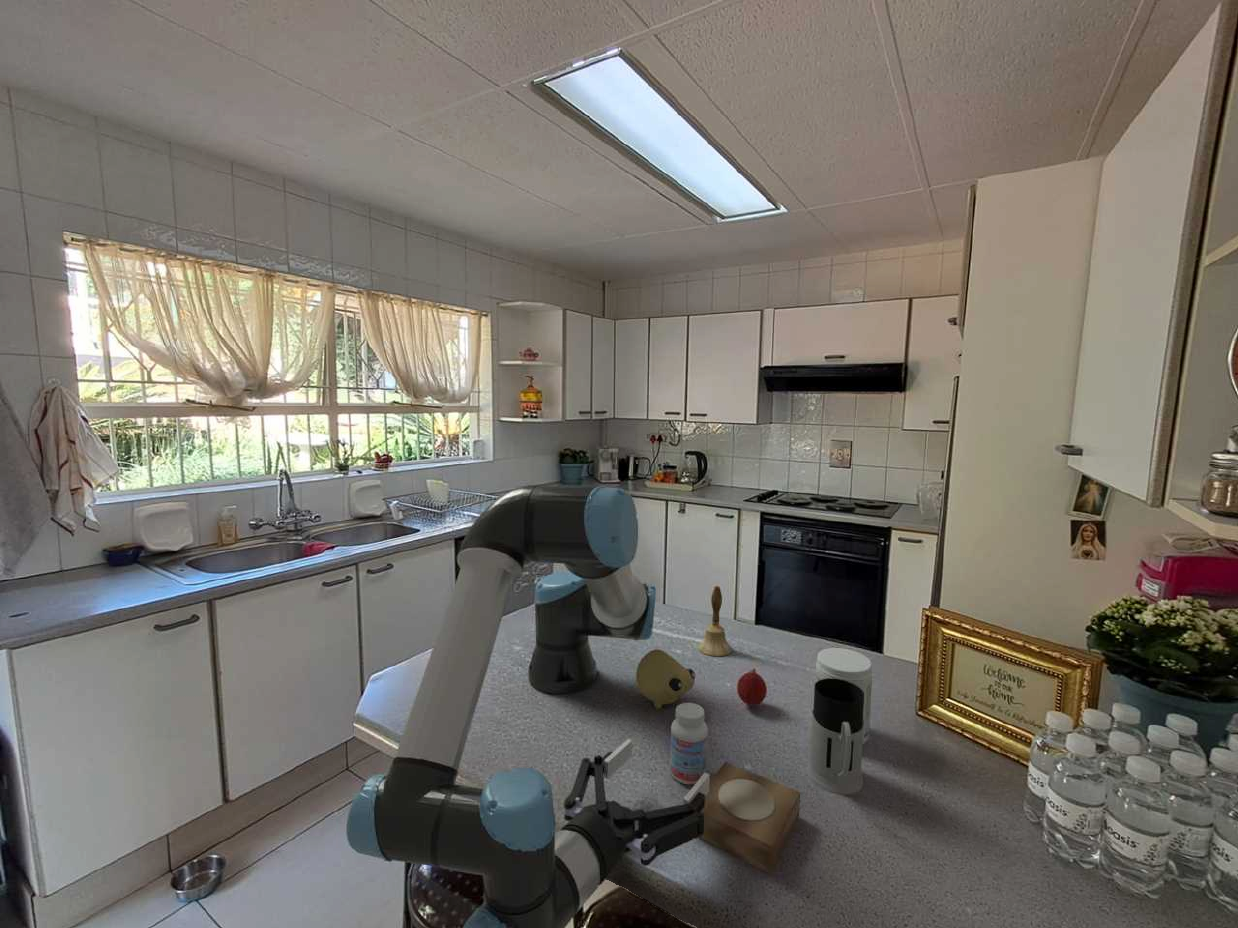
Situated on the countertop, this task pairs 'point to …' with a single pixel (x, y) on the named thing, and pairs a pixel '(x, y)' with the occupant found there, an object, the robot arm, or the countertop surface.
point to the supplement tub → (848, 674)
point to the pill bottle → (689, 744)
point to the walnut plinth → (749, 815)
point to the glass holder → (837, 736)
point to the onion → (751, 688)
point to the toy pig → (663, 678)
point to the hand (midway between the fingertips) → (666, 763)
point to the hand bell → (715, 631)
